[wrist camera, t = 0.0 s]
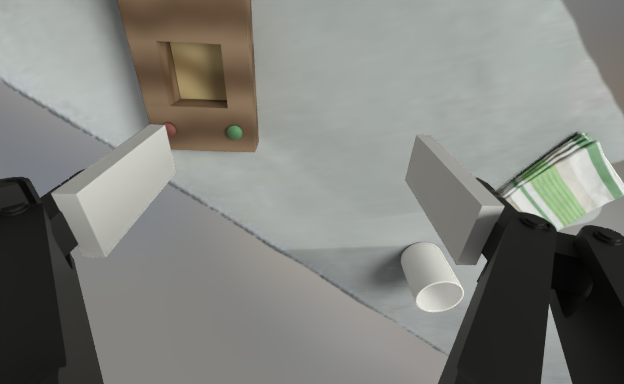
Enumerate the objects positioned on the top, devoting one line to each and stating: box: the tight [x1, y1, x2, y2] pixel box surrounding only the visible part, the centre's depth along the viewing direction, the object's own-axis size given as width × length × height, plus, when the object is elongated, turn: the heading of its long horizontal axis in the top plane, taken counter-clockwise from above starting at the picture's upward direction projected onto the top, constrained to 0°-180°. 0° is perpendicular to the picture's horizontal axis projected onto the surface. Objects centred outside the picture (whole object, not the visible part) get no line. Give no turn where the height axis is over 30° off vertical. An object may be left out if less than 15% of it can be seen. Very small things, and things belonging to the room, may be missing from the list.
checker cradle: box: [117, 0, 259, 152], centre depth 37 cm, size 20×14×5 cm
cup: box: [401, 242, 464, 312], centre depth 55 cm, size 8×12×10 cm
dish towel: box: [496, 132, 624, 231], centre depth 51 cm, size 17×23×4 cm
